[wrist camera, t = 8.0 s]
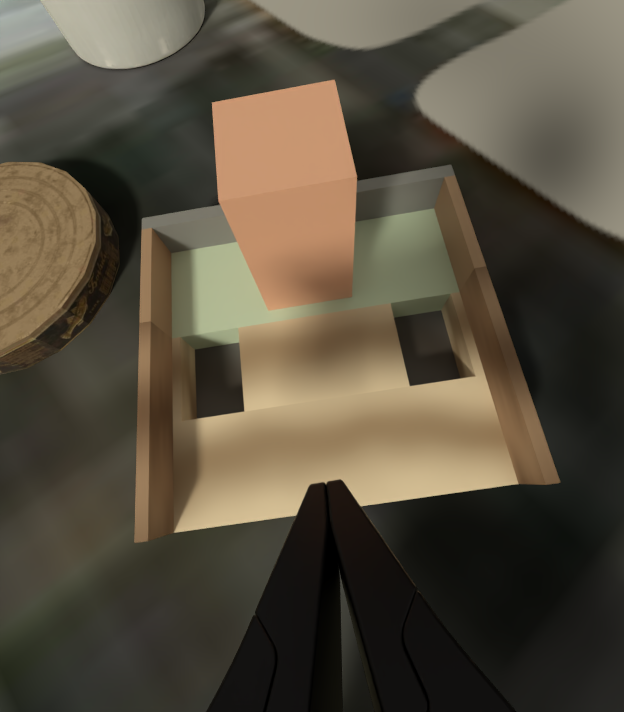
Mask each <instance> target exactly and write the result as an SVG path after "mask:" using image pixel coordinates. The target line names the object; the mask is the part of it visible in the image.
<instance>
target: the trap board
mask: <svg viewBox="0 0 624 712" xmlns="http://www.w3.org/2000/svg"><path fill="white" fill-rule="evenodd" d="M238 332H239V343H233V344H226V345H220V346H214V347H208V348H201V349H194V348H192V347H191V346H190V345H189V344H188V343H187V342H185V341H184V340H183V339H182V338H181V337H178V338H171V337H170V336H168V335H167V334H166V333H165V332H163V331H162V330H161V329H160V328H158V327H157V326H156V325H155V324H154V323H152V322H151V321H149V322H143V323H140V326H139V370H138V413H137V456H136V500H135V543H137V542H144V541H150V540H153V539H156V538H159V537H162V536H165V535H168V534H171V533H175V532H182V531H189V530H196V529H203V528H210V527H217V526H224V525H231V524H239V523H246V522H253V521H260V520H267V519H274V518H281V517H288V516H295V515H297V512H298V510H299V508H300V505H301V503H302V501H303V498H304V496H305V494H306V491H307V489H308V487H309V485H310V484H313V483H320V482H325V483H327V482H328V481H332V480H339V479H341V480H342V481H343V482H344V483H345V484H346V486H347V487H348V489H349V490H350V492H351V493H352V495H353V496H354V497H355V499H356V500H357V502H358V503H359V505H360V506H366V505H373V504H380V503H387V502H394V501H401V500H408V499H415V498H422V497H429V496H436V495H443V494H450V493H458V492H465V491H472V490H479V489H486V488H493V487H500V486H507V485H514V484H536V485H549V484H556V483H560V480H559V477H558V474H557V471H556V468H555V465H554V462H553V459H552V456H551V453H550V451H549V448H548V445H547V442H546V439H545V436H544V433H543V430H542V427H541V424H540V421H539V418H538V416H537V413H536V410H535V407H534V404H533V401H532V398H531V395H530V392H529V389H528V386H527V383H526V381H525V378H524V375H523V372H522V369H521V366H520V363H519V360H518V357H517V354H516V351H515V349H514V346H513V343H512V340H511V337H510V334H509V331H508V328H507V325H506V322H505V319H504V316H503V314H502V311H501V308H500V305H499V302H498V299H497V296H496V293H495V290H494V287H493V284H492V282H491V279H490V276H489V273H488V270H487V267H486V266H485V267H479V268H474V270H473V271H472V273H471V275H470V276H469V278H468V279H467V281H466V283H465V284H464V286H463V287H462V289H461V291H460V292H457V293H451V294H450V296H449V298H448V299H447V301H446V303H445V305H444V306H443V308H442V310H439V311H433V312H427V313H420V314H414V315H408V316H402V317H395V318H394V316H393V312H392V308H391V303H388V304H382V305H376V306H370V307H364V308H357V309H351V310H345V311H339V312H333V313H327V314H320V315H314V316H308V317H302V318H296V319H289V320H283V321H277V322H271V323H265V324H258V325H252V326H246V327H240V328H238Z"/></svg>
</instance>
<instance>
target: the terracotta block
mask: <svg viewBox="0 0 624 712" xmlns="http://www.w3.org/2000/svg"><path fill="white" fill-rule="evenodd" d="M212 110H213V125H214V140H215V155H216V170H217V185H218V200H219V203H220V205H221V208H222V210H223V212H224V214H225V216H226V219H227V221H228V223H229V225H230V227H231V230H232V232H233V234H234V236H235V238H236V241H237V243H238V245H239V247H240V249H241V252H242V254H243V256H244V258H245V260H246V263H247V265H248V267H249V269H250V271H251V274H252V276H253V278H254V280H255V282H256V285H257V287H258V289H259V291H260V293H261V296H262V298H263V300H264V302H265V304H266V307H267V309H268V311H270V310H276V309H282V308H289V307H295V306H301V305H307V304H313V303H319V302H325V301H331V300H337V299H343V298H349V297H352V284H353V260H354V237H355V213H356V189H357V174H356V170H355V166H354V161H353V157H352V153H351V148H350V144H349V140H348V135H347V131H346V127H345V122H344V118H343V114H342V109H341V105H340V101H339V96H338V92H337V88H336V84H335V80H331V81H325V82H320V83H314V84H309V85H304V86H298V87H293V88H288V89H282V90H277V91H272V92H266V93H261V94H256V95H250V96H245V97H239V98H234V99H229V100H223V101H218V102H213V103H212Z"/></svg>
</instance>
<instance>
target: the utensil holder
mask: <svg viewBox="0 0 624 712" xmlns="http://www.w3.org/2000/svg"><path fill="white" fill-rule="evenodd" d="M40 1H41V2H42V4H43V5H44V7H45V8H46V10H47V11H48V13H49V14H50V16H51V17H52V19H53V20H54V22H55V23H56V25H57V26H58V28H59V29H60V31H61V32H62V34H63V35H64V37H65V38H66V40H67V41H68V43H69V44H70V46H71V47H72V49H73V50H74V51H75V52H76V54H77V55H78V56H79V57H80V58H82V59H83V60H84V61H86V62H88V63H90V64H92V65H95V66H99V67H102V68H108V69H130V68H136V67H141V66H145V65H149V64H152V63H155V62H157V61H159V60H162V59H164V58H166V57H168V56H170V55H172V54H174V53H175V52H177V51H178V50H180V49H181V48H182V47H184V46H185V45H186V44H187V43H188V42H189V41H191V39H192V38H193V37H194V36H195V35H196V34H197V32H198V31H199V29H200V27H201V25H202V23H203V20H204V16H205V4H204V0H40Z"/></svg>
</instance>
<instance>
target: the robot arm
mask: <svg viewBox="0 0 624 712" xmlns="http://www.w3.org/2000/svg"><path fill="white" fill-rule="evenodd" d="M339 570H340V574H339ZM340 575H341V579H342V584H343V588H344V592H345V596H346V600H347V604H348V608H349V612H350V616H351V620H352V624H353V628H354V632H355V636H356V640H357V644H358V648H359V652H360V656H361V660H362V664H363V668H364V672H365V676H366V680H367V684H368V688H369V692H370V696H371V700H372V704H373V708H374V712H516V711H515V709H514V708H513V707H512V706H511V705H510V704H509V702H508V701H507V700H506V699H505V698H504V697H503V696H502V694H501V693H500V692H499V691H498V690H497V689H496V687H495V686H494V685H493V684H492V683H491V682H490V680H489V679H488V678H487V677H486V676H485V675H484V673H483V672H482V671H481V670H480V669H479V668H478V667H477V665H476V664H475V663H474V662H473V661H472V660H471V658H470V657H469V656H468V655H467V654H466V652H465V651H464V650H463V649H462V647H461V646H460V645H459V644H458V643H457V641H456V640H455V639H454V638H453V636H452V635H451V634H450V633H449V632H448V630H447V629H446V628H445V626H444V625H443V623H442V622H441V621H440V619H439V618H438V617H437V615H436V614H435V613H434V611H433V610H432V608H431V607H430V606H429V604H428V603H427V601H426V600H425V598H424V597H423V596H422V594H421V593H420V592H419V591H417V587H416V586H415V584H414V583H413V581H412V580H411V578H410V577H409V576H408V574H407V573H406V571H405V570H404V568H403V567H402V565H401V564H400V563H399V561H398V560H397V558H396V557H395V555H394V554H393V552H392V551H391V550H390V548H389V547H388V545H387V544H386V542H385V541H384V539H383V538H382V537H381V535H380V534H379V532H378V531H377V529H376V528H375V526H374V525H373V524H372V522H371V521H370V519H369V518H368V516H367V515H366V513H365V512H364V510H363V509H362V508H361V506H360V505H359V503H358V502H357V500H356V499H355V497H354V496H353V495H352V493H351V492H350V490H349V489H348V487H347V486H346V484H345V483H344V482H343V481H342V480H341V479H339V480H332V481H328V482H327V483H325V482H320V483H313V484H310V485H309V487H308V489H307V491H306V494H305V496H304V498H303V501H302V503H301V505H300V508H299V510H298V512H297V515H296V517H295V519H294V522H293V524H292V526H291V529H290V531H289V533H288V536H287V538H286V541H285V543H284V545H283V548H282V550H281V552H280V555H279V557H278V559H277V562H276V564H275V566H274V569H273V571H272V573H271V576H270V578H269V580H268V583H267V585H266V587H265V590H264V592H263V594H262V597H261V599H260V601H259V604H258V606H257V608H256V611H255V614H256V615H254V616H253V617H252V620H251V622H250V624H249V627H248V629H247V631H246V634H245V636H244V638H243V640H242V642H241V645H240V647H239V649H238V651H237V653H236V656H235V658H234V660H233V662H232V664H231V666H230V668H229V670H228V672H227V674H226V676H225V678H224V679H223V681H222V683H221V685H220V687H219V689H218V691H217V693H216V695H215V697H214V698H213V700H212V702H211V704H210V706H209V708H208V709H207V711H206V712H343V698H342V650H341V603H340Z"/></svg>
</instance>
